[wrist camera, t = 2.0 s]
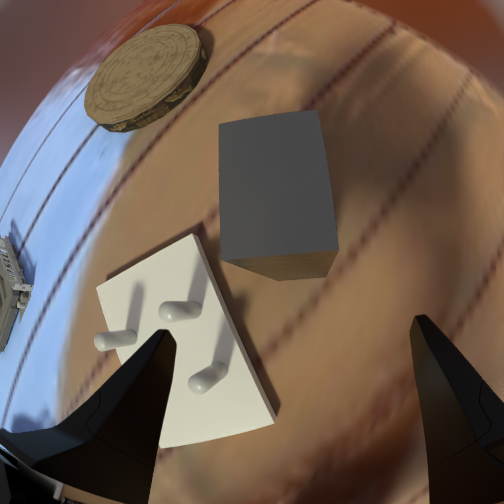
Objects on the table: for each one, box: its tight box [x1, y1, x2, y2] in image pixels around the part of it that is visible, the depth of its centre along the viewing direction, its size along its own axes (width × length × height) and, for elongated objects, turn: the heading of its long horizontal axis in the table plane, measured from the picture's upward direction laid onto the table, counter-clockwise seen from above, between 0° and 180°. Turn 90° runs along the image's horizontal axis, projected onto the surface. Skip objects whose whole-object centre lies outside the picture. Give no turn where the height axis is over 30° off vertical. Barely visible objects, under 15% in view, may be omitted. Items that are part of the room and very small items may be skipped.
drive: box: [219, 110, 339, 281], centre depth 15 cm, size 5×4×13 cm
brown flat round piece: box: [84, 24, 208, 133], centre depth 27 cm, size 16×16×3 cm
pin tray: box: [94, 234, 277, 448], centre depth 20 cm, size 16×11×5 cm
